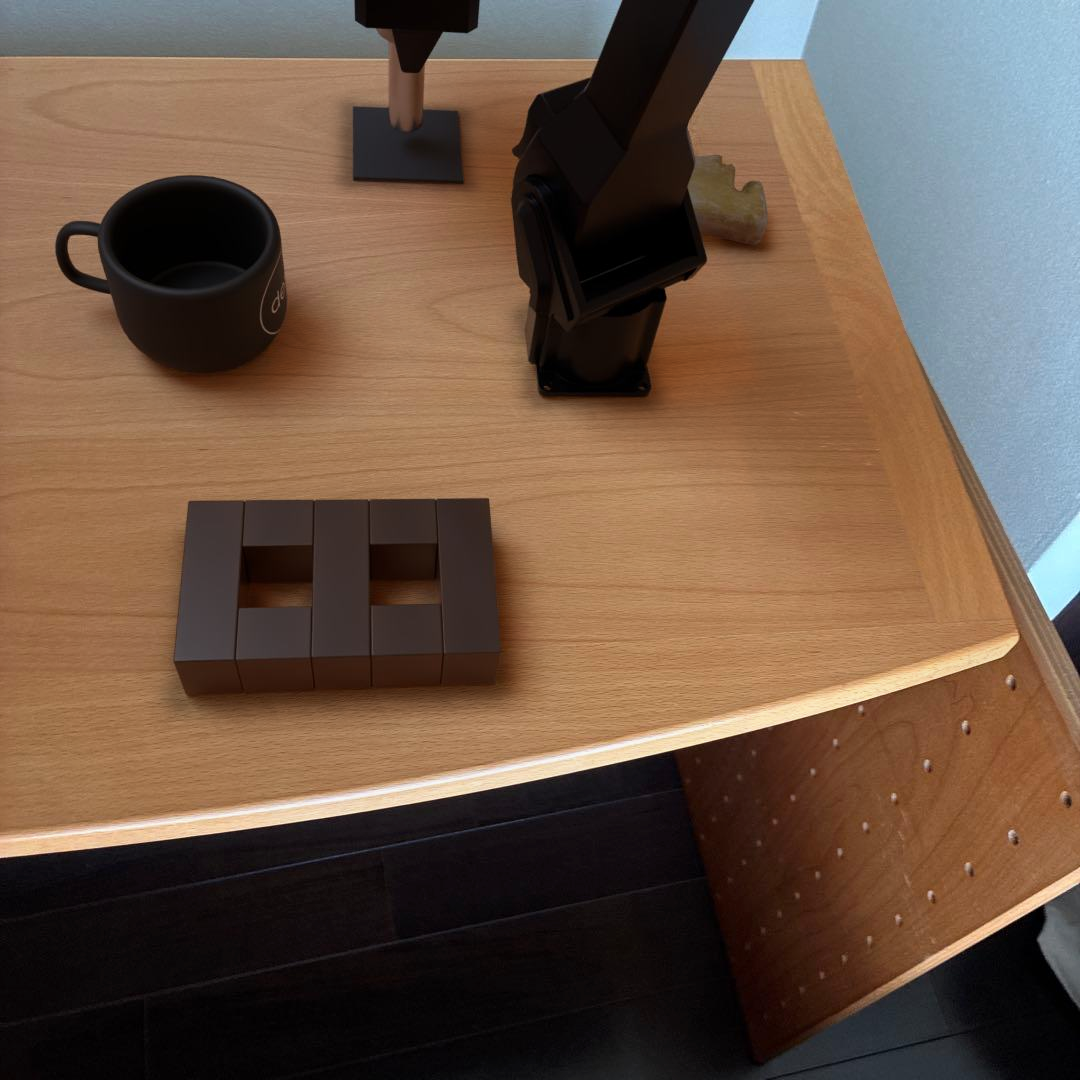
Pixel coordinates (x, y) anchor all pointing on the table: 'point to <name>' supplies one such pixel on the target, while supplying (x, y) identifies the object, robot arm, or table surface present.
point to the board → (336, 595)
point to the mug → (189, 271)
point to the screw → (403, 91)
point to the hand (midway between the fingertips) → (409, 50)
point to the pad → (406, 148)
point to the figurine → (726, 202)
